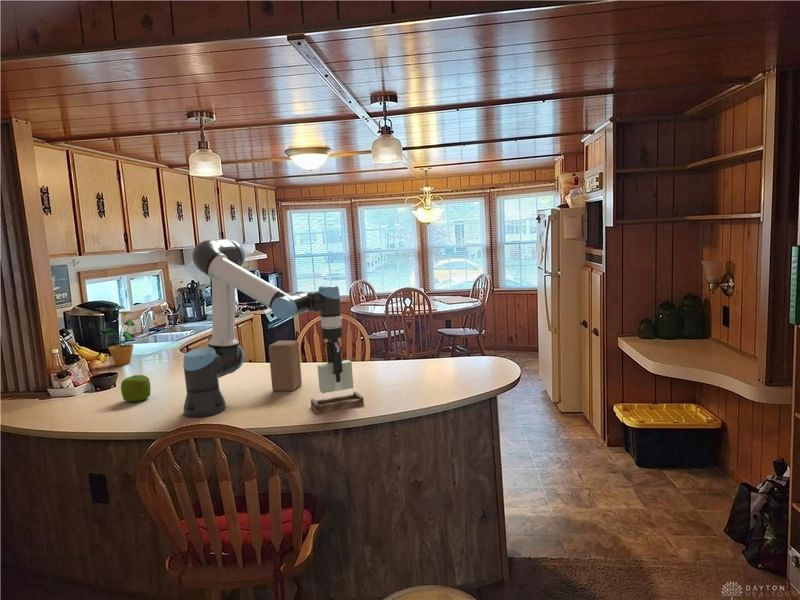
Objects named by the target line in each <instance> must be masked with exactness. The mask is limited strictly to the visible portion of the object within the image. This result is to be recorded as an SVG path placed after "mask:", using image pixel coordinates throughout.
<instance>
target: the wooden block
mask: <svg viewBox="0 0 800 600" xmlns="http://www.w3.org/2000/svg"><path fill="white" fill-rule="evenodd" d="M268 353H269V354H268V355H269V357H268V358H269V366H270V367H269V369H270V378H271V389H272V391H273V392H294V391H295V390H297V389H298V388H299V387H301V386H302V384H303V382H302V370H301V358H300V356H301V355H300V343H299V341H298V340H296V339H295V340H277V341H276V342H272V344H269V345H268Z"/></svg>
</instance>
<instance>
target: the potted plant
mask: <svg viewBox="0 0 800 600" xmlns="http://www.w3.org/2000/svg"><path fill="white" fill-rule="evenodd" d="M116 313H117V314H121V315H123V316H124V317H123V318H126V316H127V314H128V315H129V313H130V314H132V313H134V312H132V311H116ZM124 325H125V326H128V327H127V328H126V330H125V331H123V327H124ZM132 326H136V324H135V323H134V322H133V320H132V319H131V318H129V319H128V320H127V321H126V322H125V320H123V322H122V325H121V329H120V332H119V333H120V334H119V335H118V334H116V331H114V330H113V328H105V329H104V328H98V330H99V331H100V332H101V333H102V334H103V335H105V336H108V337H109V336H110V337H111V336H112V337H117V338H118V339H119V344H117V345H113V346H109V347H108V351H109V353H110V355H111V357H112V360H113V363H114V365H115V367H122V366H126V365H130V364H131V361H132V355H133V350H134V344H131V343H126V344H123V343H122V337H123V338H126V339H128V340H131V341H132V340H133V339H134V337H136V336H135V334H134V333H133V334H132V333H130V332H128V329H129V327H132ZM111 330H112V332H111Z"/></svg>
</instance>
